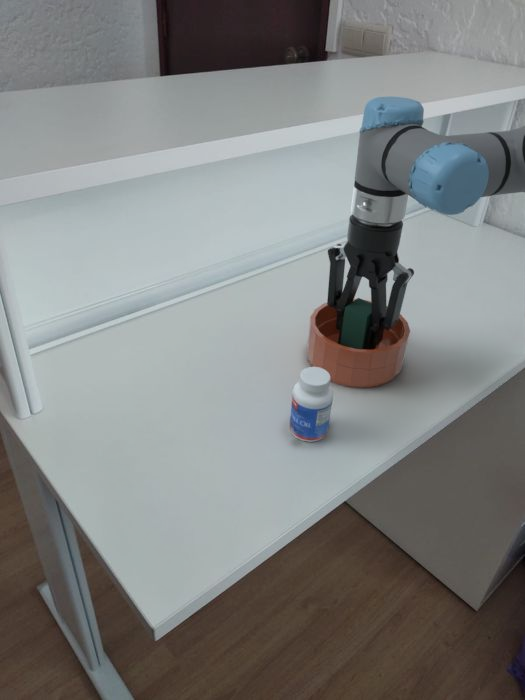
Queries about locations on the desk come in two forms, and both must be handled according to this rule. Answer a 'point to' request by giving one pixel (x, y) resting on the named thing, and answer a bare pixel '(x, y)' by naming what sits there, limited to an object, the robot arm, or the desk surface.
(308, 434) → the pill bottle
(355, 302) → the green block
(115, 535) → the desk surface
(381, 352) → the bowl
